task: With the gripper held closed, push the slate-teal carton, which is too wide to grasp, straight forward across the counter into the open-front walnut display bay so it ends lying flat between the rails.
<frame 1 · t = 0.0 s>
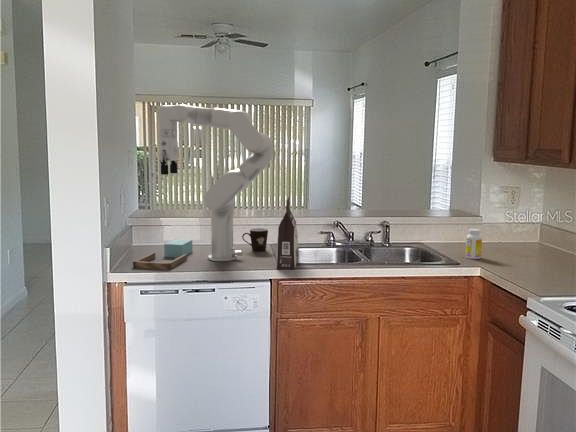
hand: (169, 173, 230), 37 cm above the countertop, tool pointing down, fingers open, 9 cm apart
display bay: (161, 263, 220), on the countertop
supplement bottle: (473, 258, 235), on the countertop
protein powder: (287, 265, 220), on the countertop
coffee mug: (255, 250, 248), on the countertop
carton: (178, 254, 238), on the countertop
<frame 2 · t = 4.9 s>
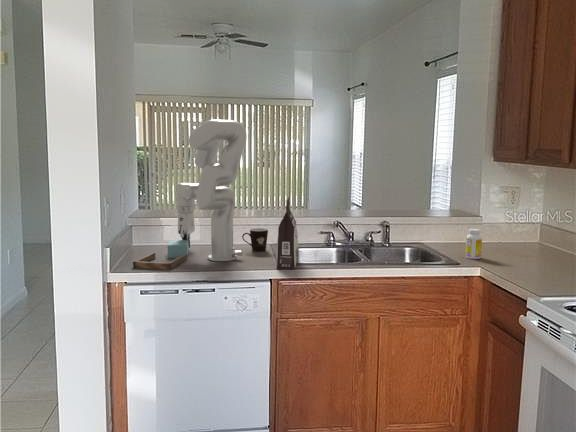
hand: (186, 247, 247), 1 cm above the countertop, tool pointing down, fingers closed
carton: (178, 255, 238), on the countertop, touching gripper
everything else where it was.
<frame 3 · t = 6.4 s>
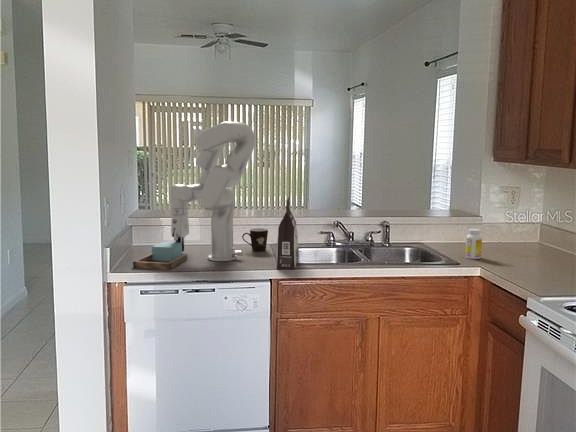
hand: (180, 251, 240), 1 cm above the countertop, tool pointing down, fingers closed
carton: (167, 257, 232), on the countertop
everything else where it was.
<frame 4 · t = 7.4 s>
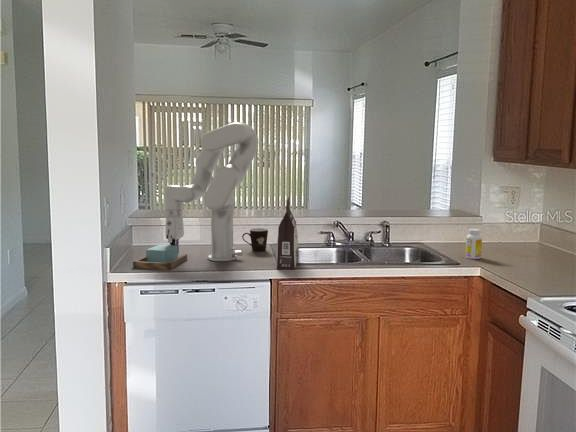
hand: (174, 253, 234), 1 cm above the countertop, tool pointing down, fingers closed
carton: (162, 261, 226), on the countertop, touching display bay, gripper
everything else where it was.
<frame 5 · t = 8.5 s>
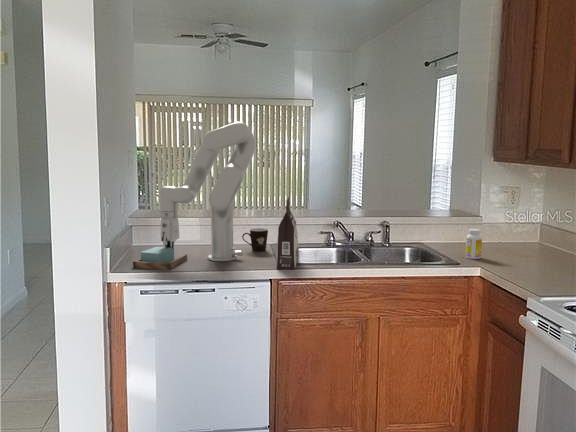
hand: (169, 256, 229), 1 cm above the countertop, tool pointing down, fingers closed
carton: (158, 264, 221), on the countertop
everything else where it was.
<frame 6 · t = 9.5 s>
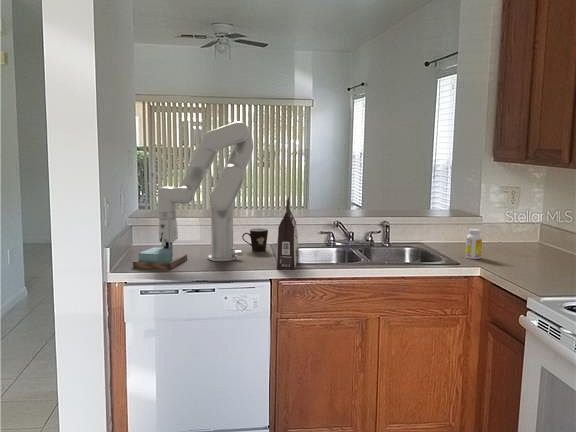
hand: (168, 257, 227), 1 cm above the countertop, tool pointing down, fingers closed
carton: (156, 264, 219), on the countertop
everything else where it was.
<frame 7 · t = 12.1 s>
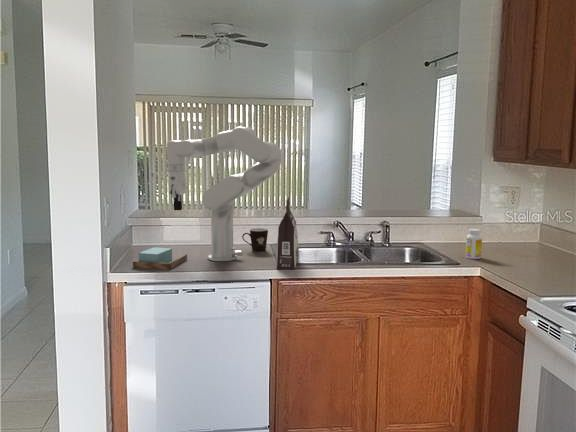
hand: (178, 209, 233), 21 cm above the countertop, tool pointing down, fingers closed
nothing on the countertop moved.
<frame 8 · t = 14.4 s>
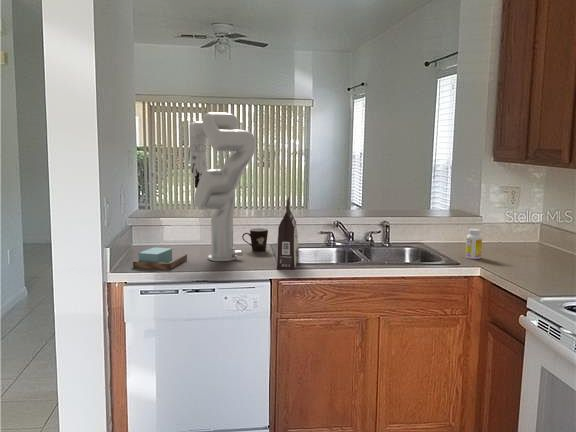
hand: (198, 187, 249), 29 cm above the countertop, tool pointing down, fingers closed
nothing on the countertop moved.
at the end: carton 2.5 cm off-centre on the display bay, point 0.0 cm above the display bay's base; carton tilted 0° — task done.
